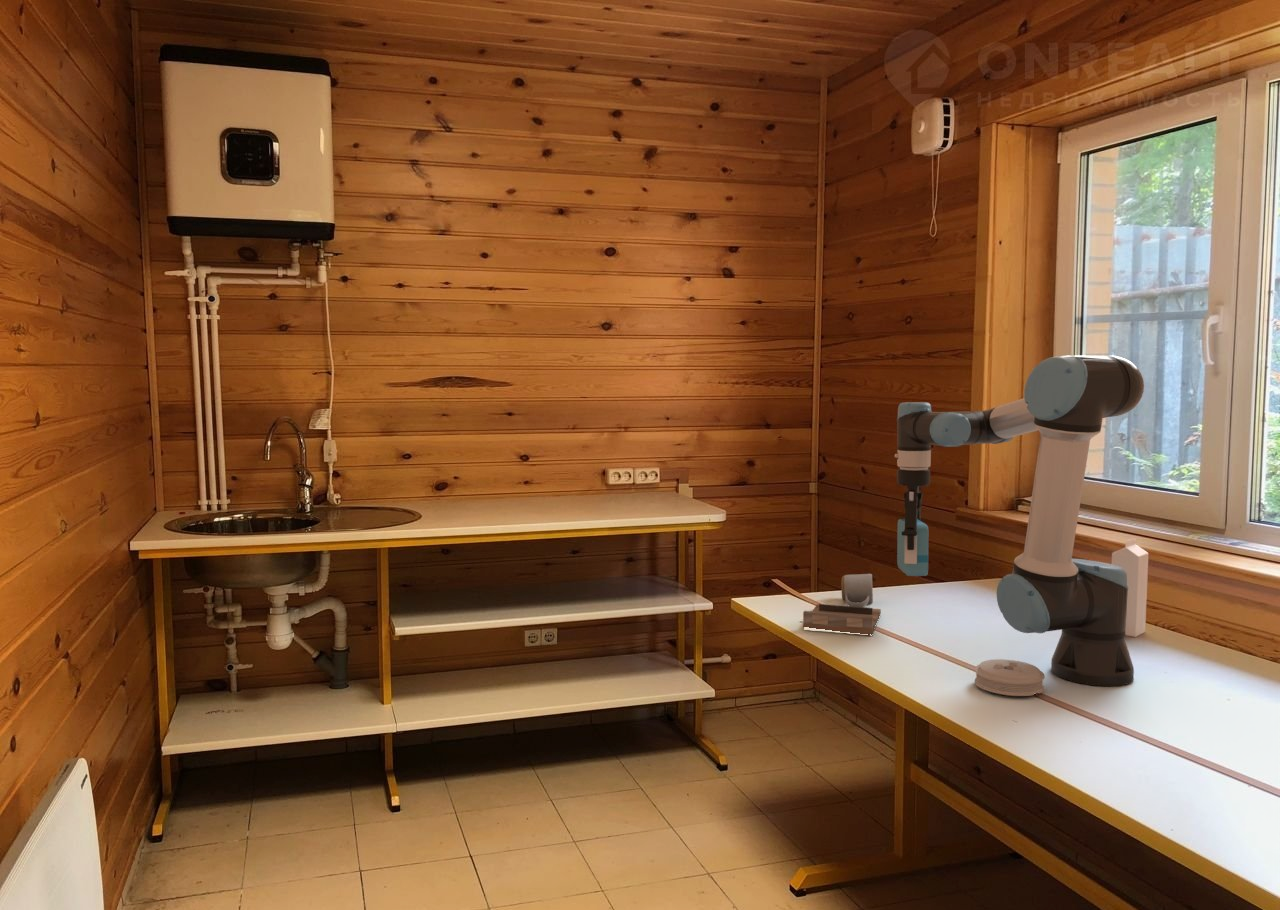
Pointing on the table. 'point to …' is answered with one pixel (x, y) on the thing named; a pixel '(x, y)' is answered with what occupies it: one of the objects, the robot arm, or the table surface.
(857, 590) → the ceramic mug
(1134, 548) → the milk
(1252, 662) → the table surface
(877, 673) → the table surface
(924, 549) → the teal rounded flat block
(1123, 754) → the table surface
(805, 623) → the brown tray
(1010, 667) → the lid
